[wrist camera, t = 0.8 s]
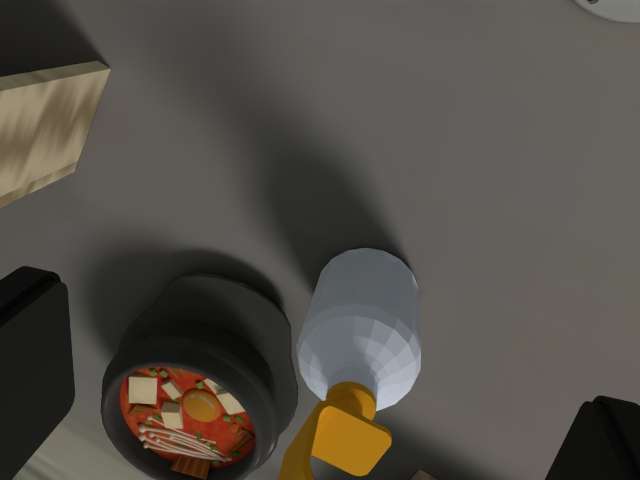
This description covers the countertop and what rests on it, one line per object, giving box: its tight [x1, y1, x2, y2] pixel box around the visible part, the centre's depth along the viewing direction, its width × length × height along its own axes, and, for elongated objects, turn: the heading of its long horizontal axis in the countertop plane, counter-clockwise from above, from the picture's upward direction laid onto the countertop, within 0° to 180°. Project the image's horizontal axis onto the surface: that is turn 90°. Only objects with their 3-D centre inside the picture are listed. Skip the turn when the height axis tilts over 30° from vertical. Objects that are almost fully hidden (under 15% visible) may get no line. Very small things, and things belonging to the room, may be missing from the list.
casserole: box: [101, 273, 298, 480], centre depth 49 cm, size 25×19×8 cm
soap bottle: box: [278, 248, 421, 480], centre depth 35 cm, size 9×9×25 cm
